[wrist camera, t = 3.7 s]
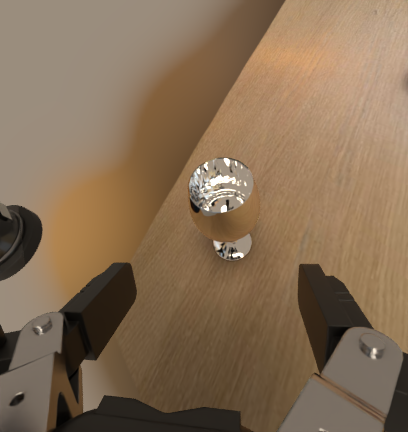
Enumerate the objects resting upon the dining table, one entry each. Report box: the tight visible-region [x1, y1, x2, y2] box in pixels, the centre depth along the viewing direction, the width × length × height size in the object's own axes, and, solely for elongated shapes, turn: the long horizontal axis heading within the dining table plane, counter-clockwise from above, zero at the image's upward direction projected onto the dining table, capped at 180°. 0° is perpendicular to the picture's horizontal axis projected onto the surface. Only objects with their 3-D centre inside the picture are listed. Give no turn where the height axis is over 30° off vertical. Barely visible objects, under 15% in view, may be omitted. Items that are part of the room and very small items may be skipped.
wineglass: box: [188, 158, 260, 261], centre depth 22 cm, size 6×6×12 cm
